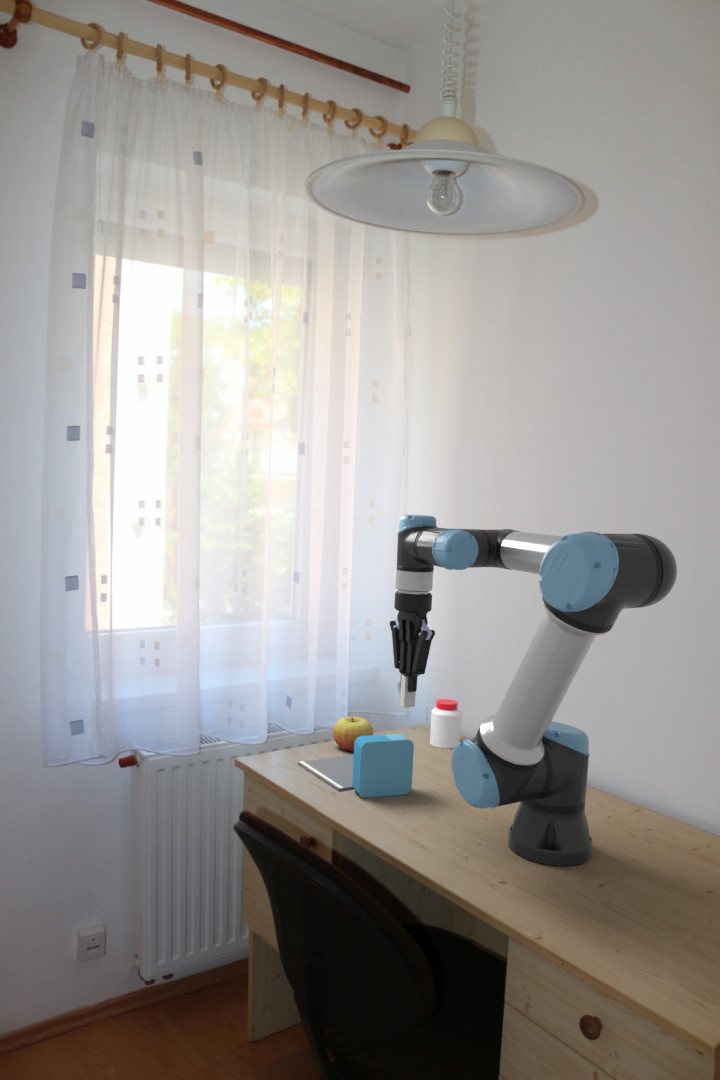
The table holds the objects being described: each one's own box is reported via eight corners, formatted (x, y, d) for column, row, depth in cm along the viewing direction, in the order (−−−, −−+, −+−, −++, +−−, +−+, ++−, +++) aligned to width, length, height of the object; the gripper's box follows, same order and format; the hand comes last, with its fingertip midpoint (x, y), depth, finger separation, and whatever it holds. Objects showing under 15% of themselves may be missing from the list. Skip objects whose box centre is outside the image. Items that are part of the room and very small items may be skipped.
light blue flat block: (403, 787, 188) (406, 733, 187) (411, 794, 183) (414, 739, 183) (351, 791, 184) (354, 735, 183) (358, 798, 179) (361, 742, 179)
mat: (408, 779, 192) (408, 776, 192) (338, 791, 183) (338, 788, 183) (363, 754, 209) (364, 752, 209) (297, 764, 199) (297, 761, 199)
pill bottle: (428, 746, 218) (430, 704, 217) (430, 738, 225) (433, 696, 224) (459, 749, 216) (461, 706, 216) (460, 741, 224) (462, 699, 223)
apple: (331, 753, 208) (333, 721, 208) (332, 741, 218) (334, 710, 218) (372, 755, 209) (374, 723, 208) (371, 743, 218) (373, 712, 218)
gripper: (448, 595, 170) (441, 712, 172) (410, 586, 181) (404, 697, 183) (417, 596, 166) (410, 716, 168) (380, 587, 177) (374, 700, 179)
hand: (407, 706), depth 175 cm, fingers closed
